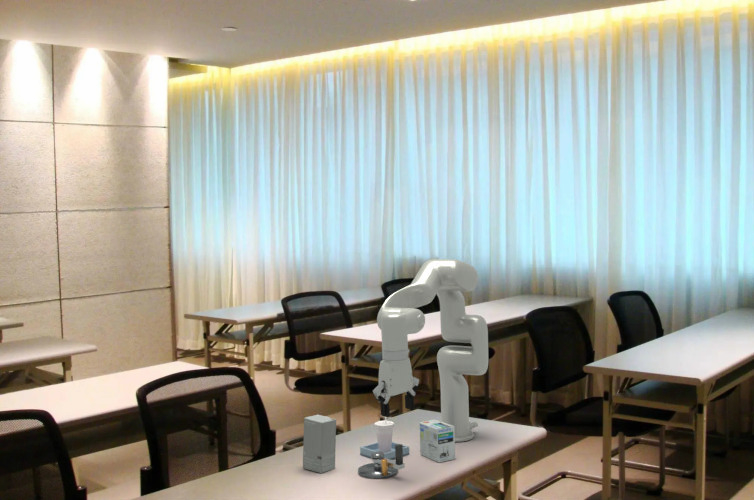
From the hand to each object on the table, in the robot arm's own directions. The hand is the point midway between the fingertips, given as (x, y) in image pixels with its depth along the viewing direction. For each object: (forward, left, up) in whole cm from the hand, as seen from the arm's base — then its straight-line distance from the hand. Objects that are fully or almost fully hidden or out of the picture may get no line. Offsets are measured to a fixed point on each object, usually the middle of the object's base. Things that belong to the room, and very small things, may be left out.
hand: (397, 412), depth 235 cm
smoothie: (-12, -20, -19) cm, 30 cm away
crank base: (+1, -9, -20) cm, 21 cm away
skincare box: (+11, -24, -20) cm, 33 cm away
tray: (-12, -20, -20) cm, 31 cm away
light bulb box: (-22, -6, -20) cm, 30 cm away
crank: (0, -5, -16) cm, 17 cm away
